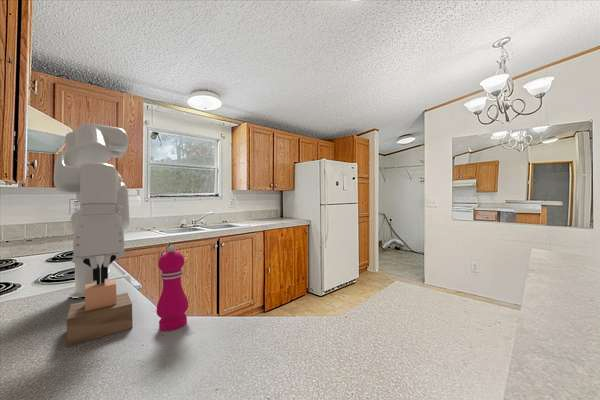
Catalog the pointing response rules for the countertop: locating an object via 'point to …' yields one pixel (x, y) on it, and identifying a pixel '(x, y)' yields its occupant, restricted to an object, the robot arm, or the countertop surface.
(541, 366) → the countertop surface
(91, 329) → the post block
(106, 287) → the cardboard-colored cube
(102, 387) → the countertop surface
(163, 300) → the pepper mill
